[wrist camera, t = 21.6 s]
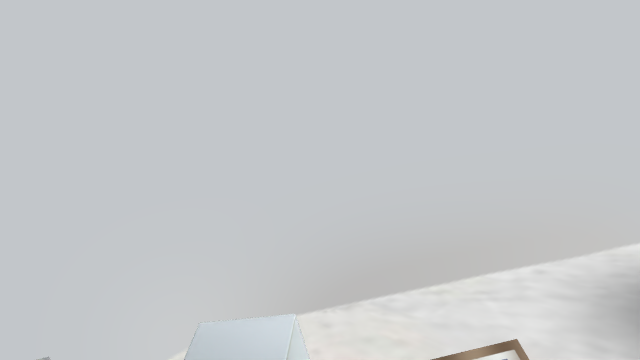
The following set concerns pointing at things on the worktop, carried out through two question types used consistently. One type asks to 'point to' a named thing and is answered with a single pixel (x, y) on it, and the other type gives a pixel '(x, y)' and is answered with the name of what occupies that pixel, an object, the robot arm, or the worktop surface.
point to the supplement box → (249, 340)
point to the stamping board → (492, 353)
